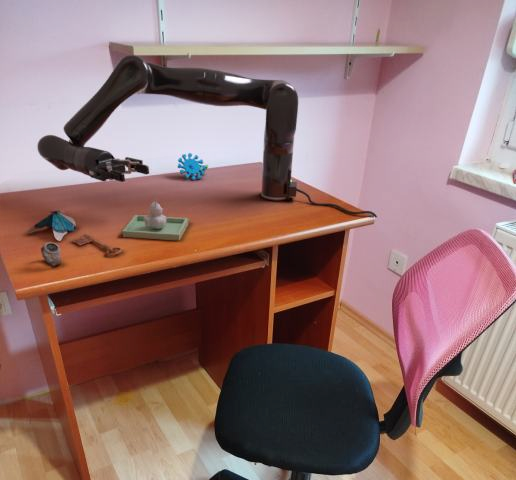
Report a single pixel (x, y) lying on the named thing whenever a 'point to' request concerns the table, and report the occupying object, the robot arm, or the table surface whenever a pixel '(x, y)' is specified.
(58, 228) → the decorative butterfly
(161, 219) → the white plastic figurine
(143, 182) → the table surface
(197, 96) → the robot arm
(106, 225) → the table surface
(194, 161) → the blue virus model
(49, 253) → the grey round container
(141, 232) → the tray
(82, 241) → the key
